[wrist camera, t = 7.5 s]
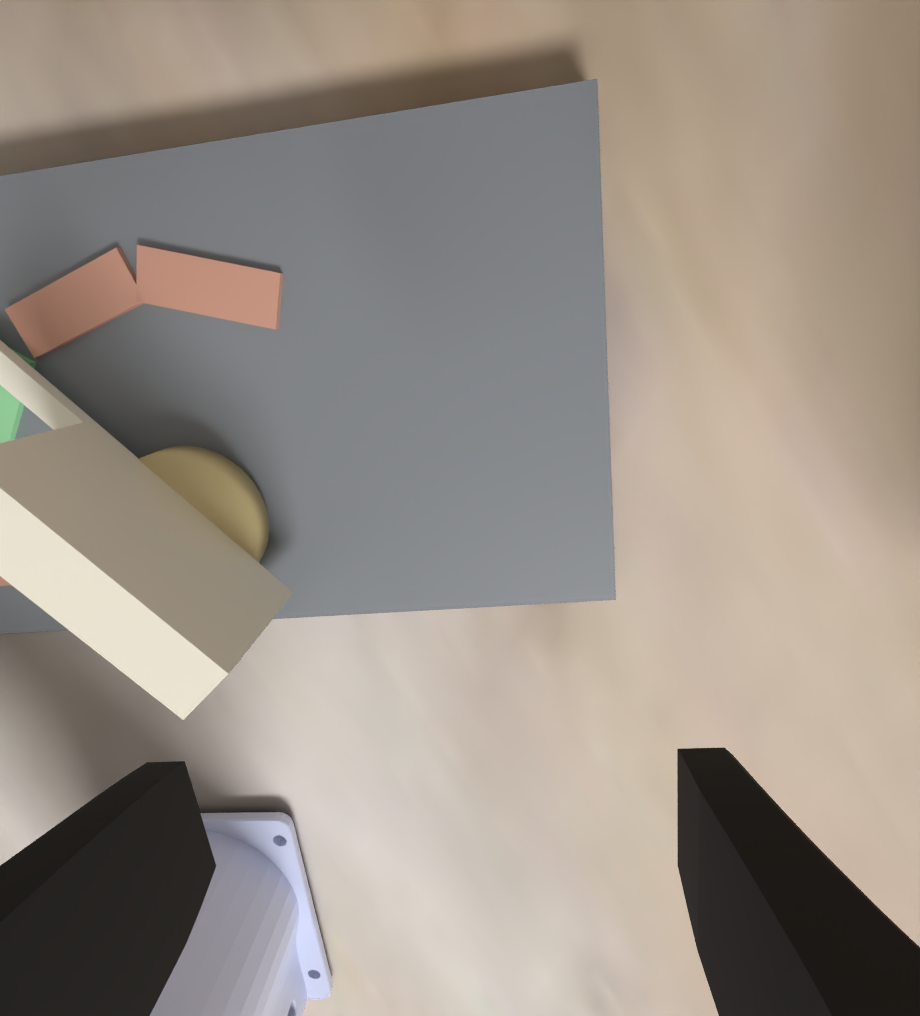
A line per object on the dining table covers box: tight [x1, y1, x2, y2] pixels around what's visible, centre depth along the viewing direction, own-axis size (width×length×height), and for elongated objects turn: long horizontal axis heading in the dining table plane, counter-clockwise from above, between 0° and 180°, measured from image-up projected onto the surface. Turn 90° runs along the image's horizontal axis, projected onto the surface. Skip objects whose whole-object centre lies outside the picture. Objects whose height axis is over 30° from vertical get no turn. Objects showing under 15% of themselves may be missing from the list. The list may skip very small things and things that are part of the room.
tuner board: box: [0, 79, 616, 634], centre depth 17 cm, size 13×24×1 cm, turn 96°
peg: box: [0, 340, 294, 720], centre depth 15 cm, size 12×4×5 cm, turn 47°
